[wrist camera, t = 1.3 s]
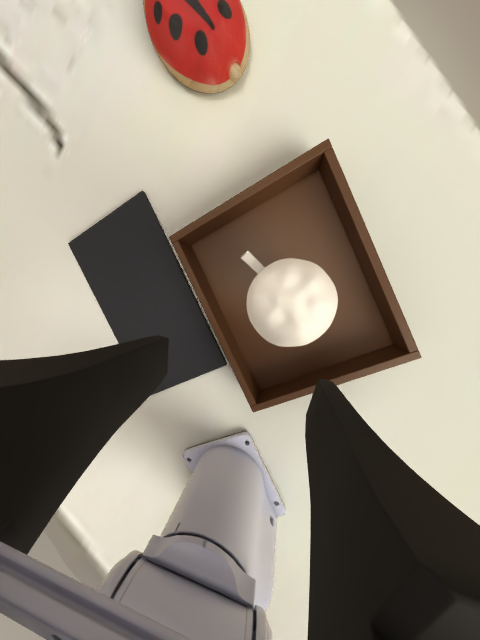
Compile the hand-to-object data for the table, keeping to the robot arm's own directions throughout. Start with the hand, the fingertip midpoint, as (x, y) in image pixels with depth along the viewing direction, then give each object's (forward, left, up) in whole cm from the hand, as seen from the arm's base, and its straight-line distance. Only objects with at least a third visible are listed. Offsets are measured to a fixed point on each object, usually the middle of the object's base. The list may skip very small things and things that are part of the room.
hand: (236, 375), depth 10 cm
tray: (+2, -3, -11) cm, 11 cm away
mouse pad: (+7, +10, -11) cm, 16 cm away
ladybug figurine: (+23, -5, -11) cm, 26 cm away
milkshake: (+2, -3, -10) cm, 11 cm away
